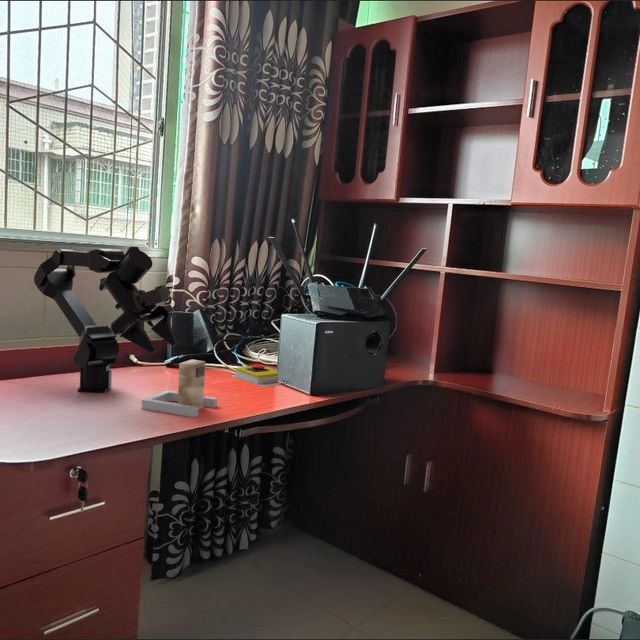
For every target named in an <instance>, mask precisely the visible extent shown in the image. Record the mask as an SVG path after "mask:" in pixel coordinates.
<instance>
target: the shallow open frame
mask: <svg viewBox="0 0 640 640" xmlns="http://www.w3.org/2000/svg"><path fill="white" fill-rule="evenodd" d="M203 407H207V408H214V409H215V408H216V407H218V397H214V396H205V395H204V402H203ZM141 409H144V410H149V411H154V412H155V411H156V412H161V413H166V414H172V415H179V416H184V417H190V418H196V417H198V416H199V410H198V407H195V406H189V405H183V404H178V391H175V390H164V391H162V392H158V393H156V394H153V395H151V396H148V397H146V398H143V399H142V400H141Z"/></svg>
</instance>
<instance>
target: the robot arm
mask: <svg viewBox="0 0 640 640" xmlns="http://www.w3.org/2000/svg"><path fill="white" fill-rule="evenodd" d="M60 266H67V267H66V268H59V267H60ZM75 267H84V268H88V269H89V270H90V271H92V272H94V273H96V274H97V273H98V274H108V275H107V276H106V277H104V278H100V279H99V280H100V282H99V286H98V290H99V291H101V292H102V291H105V290H107V291H108V292H109V294H110V295H111V297H112V298H113V299H114V301H115V302H116V304H115V305H114V308H115V309H116V310H121V311H122V312H123V313H121V314H120V315H119V316H117V318H115V320H114V321H112V322H111V323H110V327H109V326H108V325H101V326H100V325H99V326H98V325H97V324H96V322H95V321H94V319H93V318H92V316H91V315H90V314H89V312H88V311H87V309H86V308H85V306H84V304H82V302H81V301H80V299H79V298H78V296H77V295H76V293H75V292H74V290H73V284H74V279H75V277H76V269H75ZM152 267H153V259H152V258H151V257H150V256H149V255H148V254H147V253H146V252H144V251H142V250H140V248H139V246H134V245H133V246H132V245H130V246H129V247H128V248H127V251H126V252H125V253H124V250H122V249H119V248H118V249H117V248H94V249H90V250H89V251H79V250H73V249H64V248H63V249H56V250H54V251H53V253H52V255H51V256H50V257H49V258H48V259H46V260H45V261H43V262H42V263H40V265H39V267H38V268H37V270H36V272H35V274H34V275H33V282H34V284H35V286H36V288H37V289H38V290H39V292H41V293H42V295H44V296H46V297H47V298H50V299H51V300H54V301H55V304H56V305H57V306H58V307H59V309H60V310H61V312H62V313H63V315H64V316H65V318H66V319H67V321H68V322H69V323H70V325H71V327H72V328H73V329H74V331H75V332H76V335H78V337H79V339H78V341H79V342H78V349H77V350H76V353H75V354H74V355H73V357H72V358H73V359H72V360H73V363H74V366H76V367H79V369H80V370H79V387H78V388H77V392H87V393H88V392H90V393H105V392H107V391H108V390H109V389H110V388H111V387H112V376H113V375H112V370H111V369H110V365H116V363H117V358H118V355H119V351H120V344H119V342H118V340H117V339H116V338H117V336H119V337H120V338H122V339H125V340H126V341H129V342H130V343H131V342H132V343H133V344H135V345H136V346H139V347H141V348H142V349H144V350H146V351H148V352H149V353H151V354H152V353H154V352H155V351H156V348H155V345H154V343H153V342H152V340H151V339H150V337H149V335H148V333H147V332H146V330H145V323H147V325H148V326H150V327H151V328H150V329H151V330H152V331H153V332H154V333H155V334H156V335H158V337H160V338H161V339H162V340H164V341H165V342H166V343H168V344H169V345H170V346H171V347H175V345H176V344H177V341H176V338H175V334H174V332H173V329H172V324H171V321H172V317H173V316H174V313H175V309H174V308H173V306H172V305H171V304H161V303H163V302H169V301H171V300H170V296H171V290H169V288H168V287H166V285H165V284H160V285H159V286H158V285H157V286H155V288H154V289H151V290H149V291H145V290H144V289H138V287H137V285H136V284H137V283H139V282H140V281H141V280H142V279H143V277H145V275H146V274H147V273H148V272H149V271H150V270H151V269H152ZM158 304H159V305H158ZM157 305H158V306H157Z"/></svg>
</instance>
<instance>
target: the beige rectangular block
mask: <svg viewBox="0 0 640 640" xmlns="http://www.w3.org/2000/svg"><path fill="white" fill-rule="evenodd" d="M178 367H179V369H178V389H177V390H178V391H177V392H178V402H177V404H183V405H189V406H195V407H198V411H199V410H200V409H203V408H204V406H203V402H204V396H205V381H206V380H205V379H206V378H205V376H206V374H205V373H206V361H205V360H197V359H189V360H186V361H182V362H180V363H179V365H178Z"/></svg>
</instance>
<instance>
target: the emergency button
mask: <svg viewBox="0 0 640 640" xmlns="http://www.w3.org/2000/svg"><path fill="white" fill-rule="evenodd" d="M277 371H278V370H277V369H274V368H270V367H268V366H265V365H264V364H261V363H260V364H259V363H254V364H251V365H249V366H241V367H239V366H238V367H236V368H235V374H232V377H234V378H236V379H239V380H241V381H245V382H247V383H250V384H254V385H256V386H259V387H264V388H265V387H274V386H279V385H280V386H281V385H282V384H281V383H278V372H277Z"/></svg>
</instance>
